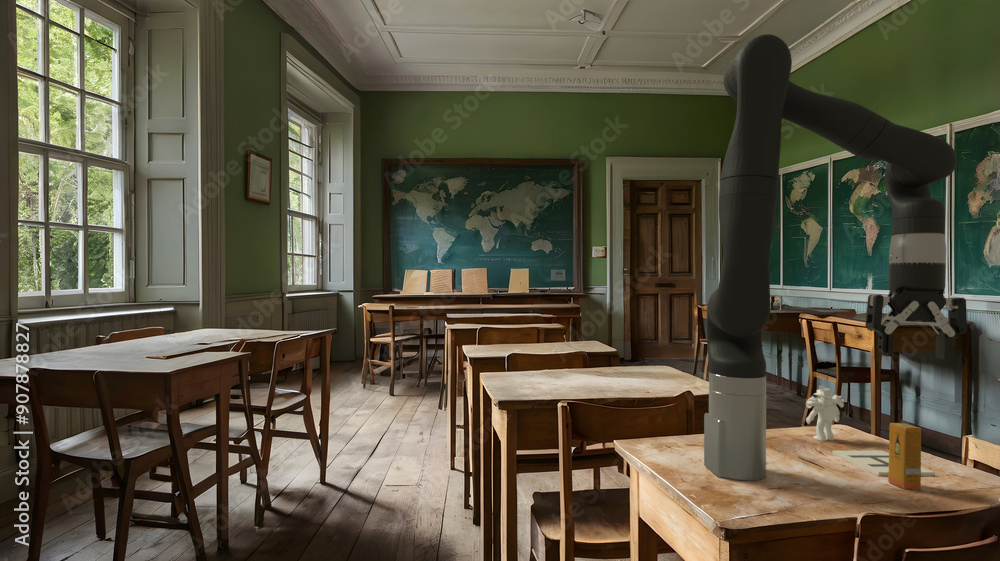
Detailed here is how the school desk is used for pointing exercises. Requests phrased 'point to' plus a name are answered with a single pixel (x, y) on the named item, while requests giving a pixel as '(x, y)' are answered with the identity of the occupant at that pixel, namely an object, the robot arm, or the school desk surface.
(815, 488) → the school desk surface
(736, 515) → the school desk surface
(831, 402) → the white toy figure
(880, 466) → the letter pad
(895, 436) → the supplement box
